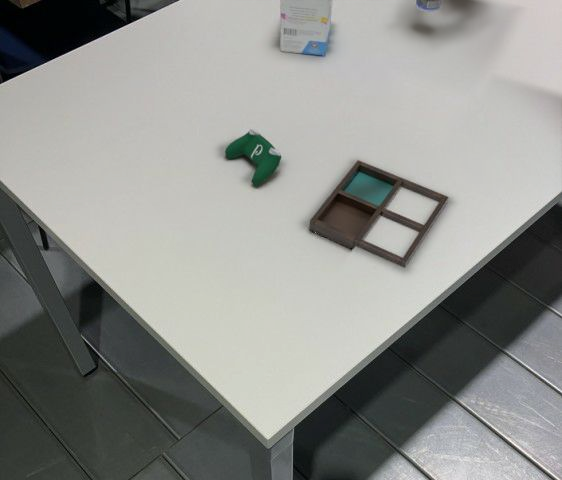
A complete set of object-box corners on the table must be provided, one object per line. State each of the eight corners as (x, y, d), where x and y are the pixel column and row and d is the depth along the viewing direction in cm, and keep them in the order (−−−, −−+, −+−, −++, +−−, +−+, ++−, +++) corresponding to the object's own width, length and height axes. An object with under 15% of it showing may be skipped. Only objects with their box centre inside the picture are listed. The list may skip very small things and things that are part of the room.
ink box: (331, 31, 118) (338, -45, 107) (325, 57, 114) (331, -20, 103) (286, 26, 119) (288, -51, 108) (279, 51, 115) (280, -26, 103)
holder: (445, 206, 95) (448, 196, 93) (403, 272, 88) (405, 263, 86) (356, 170, 99) (357, 159, 97) (308, 230, 92) (309, 220, 90)
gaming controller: (267, 192, 98) (290, 160, 96) (253, 185, 95) (276, 152, 93) (235, 159, 102) (256, 128, 100) (220, 152, 99) (242, 119, 97)
